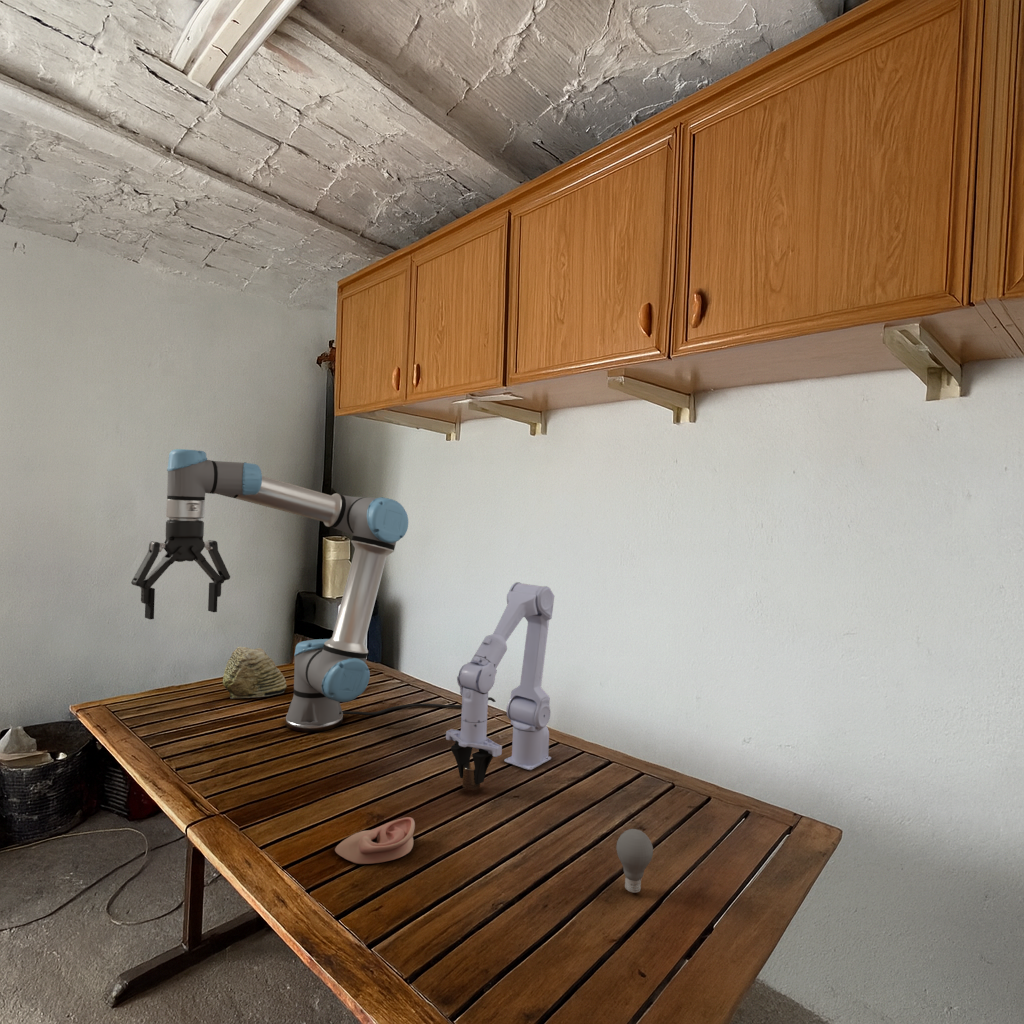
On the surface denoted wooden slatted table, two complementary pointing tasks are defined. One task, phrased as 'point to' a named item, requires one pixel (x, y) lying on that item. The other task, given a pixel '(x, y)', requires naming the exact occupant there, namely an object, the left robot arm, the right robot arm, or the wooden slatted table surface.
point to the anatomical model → (379, 843)
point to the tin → (469, 777)
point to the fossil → (252, 674)
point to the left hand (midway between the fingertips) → (182, 614)
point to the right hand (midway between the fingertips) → (471, 779)
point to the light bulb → (634, 857)
